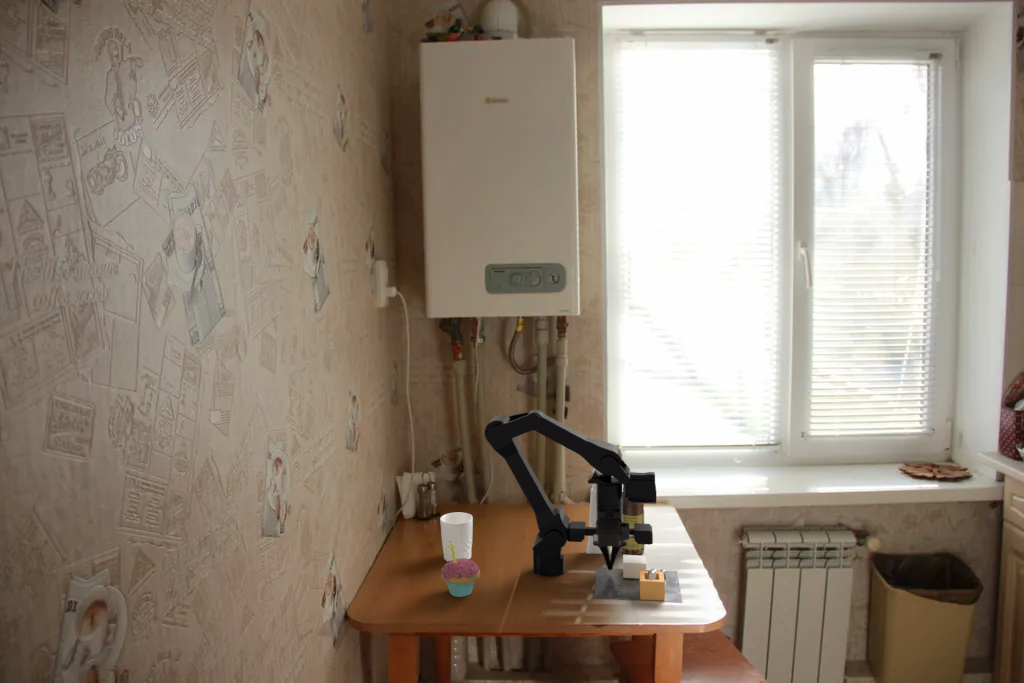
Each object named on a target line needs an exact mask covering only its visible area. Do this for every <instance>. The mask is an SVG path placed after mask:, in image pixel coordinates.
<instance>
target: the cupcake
mask: <svg viewBox="0 0 1024 683" xmlns="http://www.w3.org/2000/svg"><path fill="white" fill-rule="evenodd" d="M450 542H451V540H450ZM450 546H451V551H452V557H453V560H452V561H449V562H448V561H447V562H446V563H444V565H443V566H442V567H441V568H440V569H441V571H440V578H441V580H443V581H444V583H446V586H447V588H448V590H449V594H450V595H451V596H453V597H457V598H463V597H464V598H465V597H467V596H469V595H471V594H472V593H473V588H474V585H475V582H476V581H478V580H479V579H480V576H481V570H480V566H479V565H478V563H476V562H475V561H474V560H472V559H471V558H470V559H465V558H463V559H459V558H457V559H456V556H455V551H454V546H453V543H451V544H450Z"/></svg>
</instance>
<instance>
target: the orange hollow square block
mask: <svg viewBox="0 0 1024 683" xmlns="http://www.w3.org/2000/svg"><path fill="white" fill-rule="evenodd" d="M659 571H660V570H657V571H656V580H655V579H648V571H639V591H640V599H642V600H663V601H665V580H664V574H663V572H659Z"/></svg>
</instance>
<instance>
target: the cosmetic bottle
mask: <svg viewBox="0 0 1024 683" xmlns="http://www.w3.org/2000/svg"><path fill="white" fill-rule="evenodd" d="M592 468H593V469H592V471H591V472H592V473H591V474H593V472H594V471H595V470H596V469H595V468H594V467H592ZM596 471H597V470H596ZM597 472H598V473H599V474H601V473H600V472H599V471H597ZM591 486H592V488H590V496H589V497H590V498H589V499H590V500H589V520H588V522H589V523H588V527H596V521H597V498H596V484H591ZM593 539H594V538H593V536H587V544H586V551H585V553H586V554H593V555H603V554H602V552H601V550H600V548H599V547H598V546H594V545H593ZM608 548H609V555H611V550H612V549H611V546H608Z"/></svg>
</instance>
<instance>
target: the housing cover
mask: <svg viewBox="0 0 1024 683" xmlns="http://www.w3.org/2000/svg"><path fill="white" fill-rule="evenodd" d="M622 557H623V558H622V559H623V560H622V566H623V567H622V569H623V578H639V571H646V570H647V556H646V555H641V554H638V555H628V554H623V556H622Z"/></svg>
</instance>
